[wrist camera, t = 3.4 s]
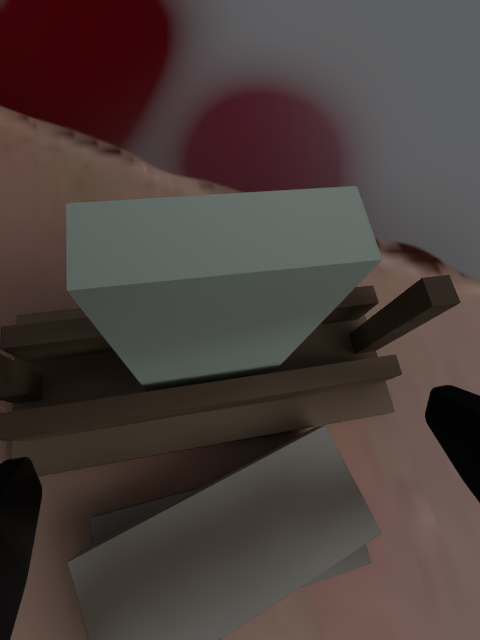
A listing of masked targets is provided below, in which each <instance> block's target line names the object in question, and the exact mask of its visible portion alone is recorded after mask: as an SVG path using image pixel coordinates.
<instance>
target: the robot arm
mask: <svg viewBox="0 0 480 640" xmlns="http://www.w3.org/2000/svg"><path fill="white" fill-rule="evenodd" d="M425 418H426V422H427V424H428V426H429V427H430V429H431V431H432V432H433V434H434V435H435V437H436V439H437V440H438V442H439V443H440V445H441V447H442V448H443V450H444V451H445V453H446V454H447V456H448V458H449V459H450V461H451V462H452V464H453V466H454V467H455V469H456V470H457V472H458V473H459V475H460V476H461V478H462V479H463V481H464V482H465V484H466V485H467V486H468V488H469V489H470V491H471V492H472V493H473V495H474V496H475V497H476V499H477V500H478V501H479V502H480V396H479V395H476V394H474V393H471V392H468V391H465V390H463V389H460V388H457V387H455V386H452V385H445V386H439V387H435V388H433V389H432V390H431V392H430V396H429V400H428V404H427V408H426V412H425ZM41 499H42V486H41V483H40V480H39V478H38V475H37V473H36V470H35V468H34V465H33V463H32V461H31V459H30V458H28V457H20V458H14V459H9V460H6V461H4V462H3V463H1V464H0V640H10V638H11V635H12V631H13V628H14V624H15V621H16V617H17V614H18V610H19V607H20V603H21V599H22V596H23V592H24V588H25V585H26V581H27V576H28V571H29V566H30V561H31V555H32V550H33V544H34V538H35V533H36V527H37V521H38V516H39V510H40V504H41Z"/></svg>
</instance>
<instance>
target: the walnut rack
mask: <svg viewBox="0 0 480 640" xmlns="http://www.w3.org/2000/svg"><path fill="white" fill-rule="evenodd" d="M378 303H379V302H378V299H377V296H376V293H375V290H374V287H373V286H364V287H355V288H354V289H353V290H352V291H351V292H350V293H349V294H348V295H347V297H346V298H345V299H344V300H343V301H342V302H341V303H340V304H339V305H338V306H337V307H336V308H335V309H334V310H333V311H332V312H331V313H330V314H329V315H328V316H327V317H326V318H325V319H324V320H323V321H322V322H321V323H320V324H319V326H318V327H317V328H316V329H315V330H314V331H313V332H312V333H311V334H310V335H309V336H308V337H307V338H306V339H305V340H304V341H303V342H302V343H301V344H300V345H299V346H298V347H297V348H296V349H295V350H294V351H293V352H292V353H291V354H290V356H289V357H288V358H287V359H286V360H285V361H284V362H283V363H282V364H281V365H280V366H279V367H278V368H277V369H276V370H275V371H274V372H273V373H269V374H262V375H255V376H249V377H242V378H235V379H228V380H222V381H215V382H208V383H202V384H195V385H188V386H182V387H175V388H168V389H162V390H155V391H148V392H147V391H146V390H145V389H144V387H143V386H142V385H141V384H140V382H139V381H138V380H137V379H136V377H135V376H134V375H133V373H132V372H131V371H130V370H129V368H128V367H127V366H126V365H125V363H124V362H123V361H122V360H121V358H120V357H119V356H118V355H117V353H116V352H115V351H114V350H113V348H112V347H111V346H110V345H109V343H108V342H107V341H106V340H105V338H104V337H103V336H102V334H101V333H100V332H99V331H98V329H97V328H96V327H95V326H94V324H93V323H92V322H91V321H90V319H89V318H88V317H87V316H86V314H85V313H84V312H83V311H82V309H72V310H62V311H53V312H44V313H34V314H25V315H17V325H14V326H5V327H1V342H0V349H2V350H4V351H6V352H8V353H10V354H11V355H13V356H15V361H13V360H11V359H9V358H7V357H5V356H3V355H1V354H0V400H3V401H7V402H11V403H13V412H8V413H1V414H0V440H7V441H12V447H11V459H14V458H20V457H28V458H30V459H31V461H32V463H33V465H34V468H35V470H36V473H37V475H38V476H42V475H47V474H53V473H58V472H64V471H69V470H75V469H81V468H86V467H92V466H97V465H103V464H108V463H114V462H119V461H125V460H131V459H136V458H142V457H147V456H153V455H158V454H164V453H170V452H175V451H181V450H186V449H192V448H197V447H203V446H208V445H214V444H220V443H225V442H231V441H236V440H242V439H247V438H253V437H259V436H264V435H270V434H275V433H281V432H286V431H292V430H297V429H303V428H309V427H314V426H320V425H325V424H331V423H336V422H342V421H348V420H353V419H359V418H364V417H370V416H375V415H381V414H386V413H391V412H395V411H394V408H393V405H392V401H391V398H390V395H389V392H388V388H387V385H386V382H385V381H386V380H389V379H391V378H394V377H397V376H399V375H402V372H401V369H400V366H399V363H398V360H397V357H396V355H389V356H382V357H378V356H377V353H376V350H378V349H380V348H381V347H383V346H385V345H387V344H388V343H390V342H392V341H394V340H396V339H397V338H399V337H401V336H403V335H404V334H406V333H408V332H410V331H411V330H413V329H415V328H417V327H418V326H420V325H422V324H424V323H426V322H427V321H429V320H431V319H433V318H434V317H436V316H438V315H440V314H441V313H443V312H445V311H447V310H448V309H450V308H452V307H454V306H456V305H457V304H459V303H460V300H459V298H458V295H457V293H456V290H455V288H454V286H453V283H452V281H451V278H450V276H449V275H444V276H435V277H426V278H421V279H420V280H419V281H417V282H416V283H415V284H414V285H412V286H411V287H410V288H408V289H407V290H406V291H405V292H403V293H402V294H401V295H399V296H398V297H397V298H395V299H394V300H393V301H392V302H390V303H389V304H388V305H386V306H385V307H384V308H383V309H381V310H380V311H379V312H377V313H376V314H375V315H373V316H372V317H371V318H370V319H368V320H367V321H366V317H365V314H366V313H367V312H368V311H369V310H370V309H372V308H373V307H374V306H375V305H377V304H378Z"/></svg>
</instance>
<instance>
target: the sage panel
mask: <svg viewBox="0 0 480 640" xmlns="http://www.w3.org/2000/svg"><path fill="white" fill-rule="evenodd" d="M381 260H382V258H381V255H380V252H379V249H378V246H377V243H376V240H375V238H374V235H373V232H372V229H371V226H370V223H369V220H368V217H367V215H366V212H365V209H364V206H363V203H362V200H361V197H360V194H359V191H358V189H357V186H351V187H334V188H317V189H301V190H284V191H266V192H249V193H232V194H215V195H198V196H181V197H164V198H147V199H130V200H113V201H96V202H79V203H66V271H67V292H68V293H69V294H70V295H71V297H72V298H73V299H74V301H75V302H76V303H77V304H78V306H79V307H80V308H81V309H82V311H83V312H84V313H85V314H86V316H87V317H88V318H89V319H90V321H91V322H92V323H93V324H94V326H95V327H96V328H97V329H98V331H99V332H100V333H101V334H102V336H103V337H104V338H105V340H106V341H107V342H108V343H109V345H110V346H111V347H112V348H113V350H114V351H115V352H116V353H117V355H118V356H119V357H120V358H121V360H122V361H123V362H124V363H125V365H126V366H127V367H128V368H129V370H130V371H131V372H132V373H133V375H134V376H135V377H136V379H137V380H138V381H139V382H140V384H141V385H142V386H143V387H144V389H145V390H146V391H147V392H148V391H155V390H162V389H168V388H175V387H182V386H188V385H195V384H202V383H208V382H215V381H222V380H228V379H235V378H242V377H249V376H255V375H262V374H269V373H273V372H274V371H275V370H276V369H277V368H278V367H279V366H280V365H281V364H282V363H283V362H284V361H285V360H286V359H287V358H288V357H289V356H290V354H291V353H292V352H293V351H294V350H295V349H296V348H297V347H298V346H299V345H300V344H301V343H302V342H303V341H304V340H305V339H306V338H307V337H308V336H309V335H310V334H311V333H312V332H313V331H314V330H315V329H316V328H317V327H318V326H319V324H320V323H321V322H322V321H323V320H324V319H325V318H326V317H327V316H328V315H329V314H330V313H331V312H332V311H333V310H334V309H335V308H336V307H337V306H338V305H339V304H340V303H341V302H342V301H343V300H344V299H345V298H346V297H347V295H348V294H349V293H350V292H351V291H352V290H353V289H354V288H355V287H356V286H357V285H358V284H359V283H360V282H361V281H362V280H363V279H364V278H365V277H366V276H367V275H368V274H369V273H370V272H371V271H372V270H373V269H374V268H375V267H376V265H377V264H378V263H379V262H380V261H381Z"/></svg>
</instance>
